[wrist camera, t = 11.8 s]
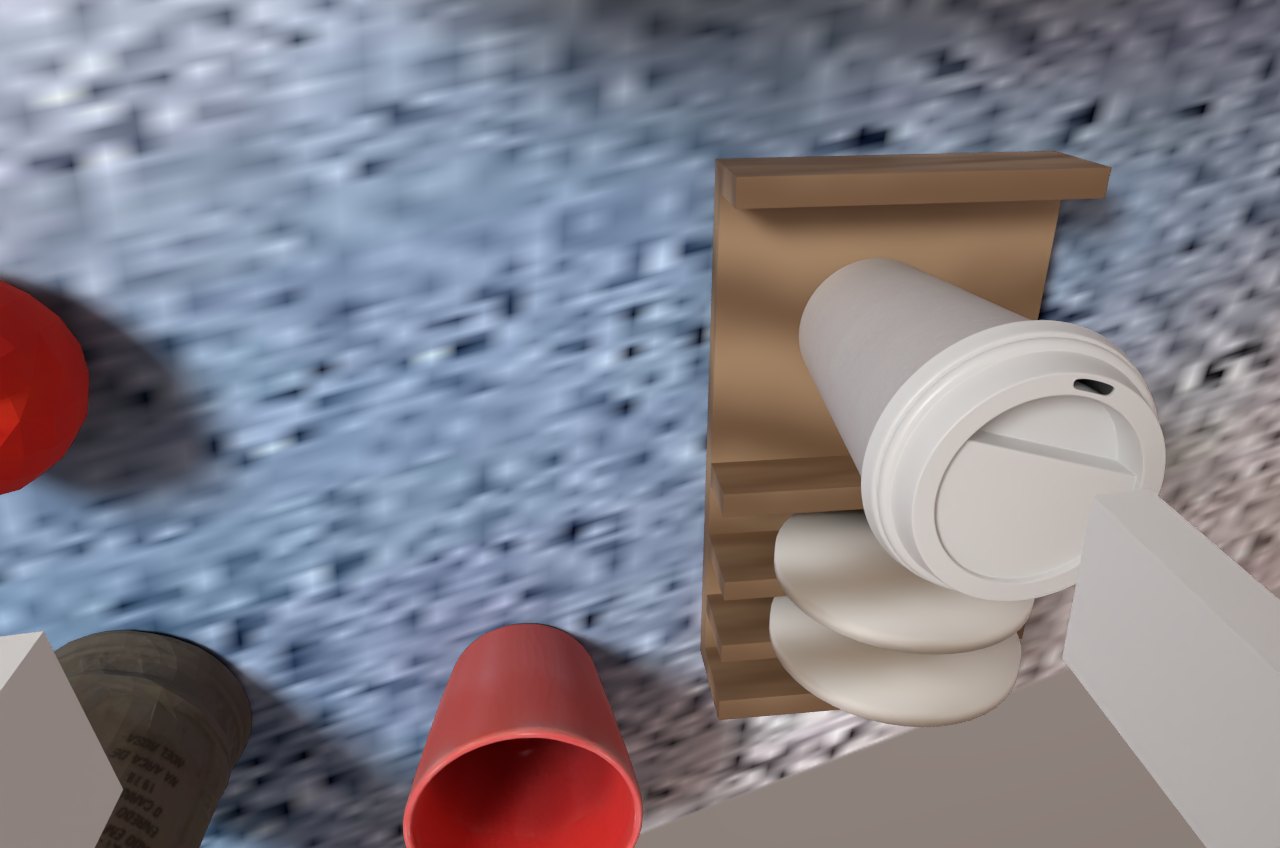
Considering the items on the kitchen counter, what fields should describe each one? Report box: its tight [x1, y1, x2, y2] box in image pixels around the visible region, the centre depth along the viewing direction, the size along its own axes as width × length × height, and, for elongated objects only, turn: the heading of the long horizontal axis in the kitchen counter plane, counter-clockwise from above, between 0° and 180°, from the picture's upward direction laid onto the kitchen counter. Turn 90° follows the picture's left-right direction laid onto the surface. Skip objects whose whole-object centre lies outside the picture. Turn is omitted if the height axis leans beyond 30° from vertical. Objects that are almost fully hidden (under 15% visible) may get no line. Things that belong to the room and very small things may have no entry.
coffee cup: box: [799, 258, 1166, 601], centre depth 34 cm, size 10×10×15 cm
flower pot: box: [403, 624, 643, 848], centre depth 44 cm, size 11×11×10 cm
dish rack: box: [701, 151, 1111, 727], centre depth 38 cm, size 26×15×12 cm, turn 0°
